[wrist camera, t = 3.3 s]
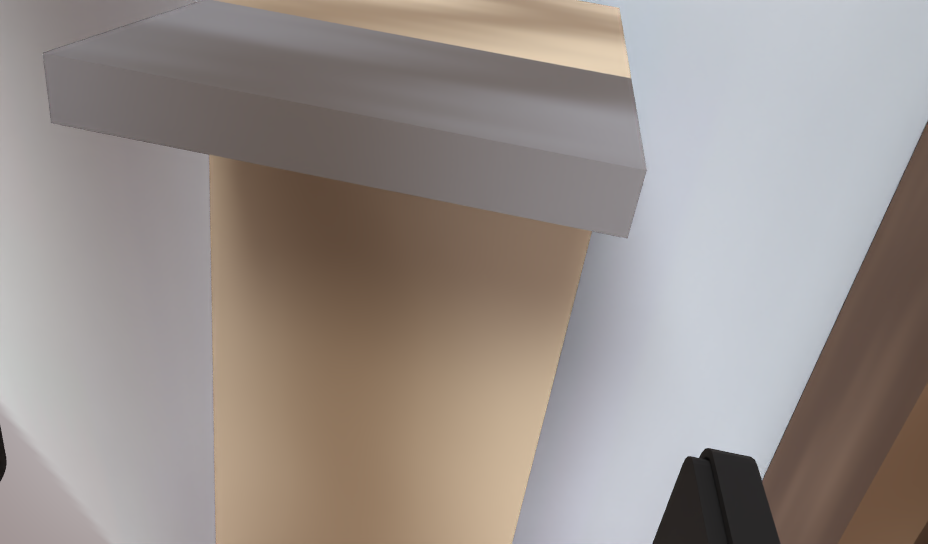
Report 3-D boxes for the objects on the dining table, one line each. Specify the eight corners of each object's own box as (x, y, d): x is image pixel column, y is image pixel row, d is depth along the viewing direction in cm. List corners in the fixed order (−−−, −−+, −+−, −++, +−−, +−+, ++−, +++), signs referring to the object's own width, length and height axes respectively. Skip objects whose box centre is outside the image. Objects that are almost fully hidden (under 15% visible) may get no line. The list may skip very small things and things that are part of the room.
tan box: (616, -9, 15) (645, 170, 6) (521, 396, 19) (461, 824, 11) (365, -54, 15) (43, 53, 6) (333, 356, 20) (126, 740, 11)
